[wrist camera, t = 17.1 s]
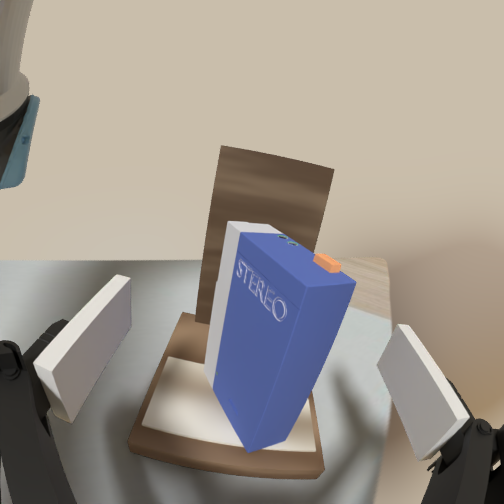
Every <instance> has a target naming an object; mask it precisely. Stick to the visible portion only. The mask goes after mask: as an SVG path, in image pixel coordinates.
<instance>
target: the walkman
mask: <svg viewBox="0 0 504 504" xmlns="http://www.w3.org/2000/svg"><path fill="white" fill-rule="evenodd" d="M340 268H341V264H340V263H338V262H337V261H335V260H334V259H332V258H331V257H329V256H327V255H326V254H314V253H312V252H311V251H309V250H308V249H306V248H305V247H303V246H302V245H300V244H299V243H297V242H296V241H294V240H292V239H291V238H289V237H288V236H286V235H285V234H283V233H281V232H280V231H278V230H277V229H275V228H273V227H272V226H270V225H269V224H258V223H248V222H239V221H228V222H227V228H226V234H225V240H224V245H223V251H222V257H221V263H220V269H219V276H218V281H216V288H215V294H214V301H213V307H212V314H211V321H210V328H209V335H208V342H207V349H206V356H205V364H204V373H205V375H206V377H207V379H208V381H209V383H210V385H211V387H212V389H213V391H214V393H215V395H216V397H217V399H218V401H219V403H220V405H221V406H222V408H223V410H224V412H225V414H226V416H227V418H228V419H229V421H230V423H231V425H232V427H233V429H234V430H235V432H236V434H237V436H238V437H239V439H240V441H241V443H242V444H243V446H244V448H245V450H246V451H247V453H250V452H253V451H257V450H260V449H263V448H266V447H269V446H272V445H275V444H278V443H281V442H283V441H286V439H287V437H288V435H289V434H290V432H291V430H292V428H293V426H294V424H295V422H296V421H297V419H298V417H299V415H300V413H301V411H302V409H303V407H304V405H305V403H306V401H307V399H308V397H309V395H310V393H311V391H312V389H313V387H314V385H315V383H316V380H317V378H318V376H319V374H320V372H321V370H322V367H323V365H324V363H325V361H326V358H327V356H328V354H329V352H330V349H331V347H332V345H333V342H334V340H335V337H336V335H337V333H338V330H339V328H340V325H341V323H342V320H343V318H344V315H345V312H346V310H347V307H348V304H349V302H350V299H351V296H352V294H353V291H354V288H355V285H356V281H354V280H353V279H351V278H350V277H348V276H347V275H346V274H344V273H343V272H341V271H340Z"/></svg>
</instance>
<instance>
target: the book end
mask: <svg viewBox="0 0 504 504" xmlns="http://www.w3.org/2000/svg"><path fill="white" fill-rule="evenodd" d="M333 173H334V169H331V168H327V167H323V166H320V165H316V164H312V163H307V162H303V161H299V160H294V159H290V158H285V157H281V156H276V155H271V154H266V153H261V152H256V151H251V150H245V149H240V148H234V147H228V146H221V149H220V154H219V160H218V166H217V171H216V177H215V183H214V189H213V194H212V200H211V206H210V213H209V219H208V226H207V232H206V239H205V246H204V253H203V260H202V267H201V274H200V282H199V290H198V298H197V307H196V315H194V314H189V313H185V312H182V314H181V316H180V318H179V321H178V323H177V325H176V327H175V330H174V332H173V334H172V336H171V338H170V341H169V343H168V345H167V347H166V350H165V352H164V354H163V357H162V359H161V361H160V363H159V366H158V368H157V370H156V373H155V375H154V377H153V380H152V382H151V384H150V387H149V389H148V392H147V394H146V396H145V399H144V401H143V403H142V406H141V408H140V411H139V413H138V416H137V418H136V421H135V423H134V426H133V428H132V431H131V433H130V436H129V438H128V445H129V449H130V452H133V453H136V454H139V455H142V456H146V457H149V458H153V459H156V460H160V461H164V462H168V463H172V464H176V465H180V466H185V467H189V468H194V469H199V470H205V471H211V472H217V473H223V474H230V475H238V476H248V477H259V478H273V479H317V478H318V477H319V476H320V475H321V474H322V473H323V471H324V470H325V468H324V461H323V454H322V448H321V442H320V435H319V429H318V423H317V417H316V411H315V405H314V399H313V394H312V391H311V393H310V395H309V397H308V399H307V401H306V403H305V405H304V407H303V409H302V411H301V413H300V415H299V417H298V419H297V421H296V422H295V424H294V426H293V428H292V430H291V432H290V434H289V435H288V437H287V439H286V441H283V442H281V443H278V444H275V445H272V446H269V447H266V448H263V449H260V450H257V451H253V452H250V453H247V451H246V450H245V448H244V446H243V444H242V443H241V441H240V439H239V437H238V436H237V434H236V432H235V430H234V429H233V427H232V425H231V423H230V421H229V419H228V418H227V416H226V414H225V412H224V410H223V408H222V406H221V405H220V403H219V401H218V399H217V397H216V395H215V393H214V391H213V389H212V387H211V385H210V383H209V381H208V379H207V377H206V375H205V373H204V364H205V356H206V349H207V342H208V335H209V328H210V321H211V314H212V307H213V301H214V294H215V288H216V281H218V276H219V269H220V263H221V257H222V251H223V245H224V240H225V234H226V228H227V222H228V221H239V222H248V223H258V224H269V225H270V226H272V227H273V228H275V229H277V230H278V231H280V232H281V233H283V234H285V235H286V236H288V237H289V238H291V239H292V240H294V241H296V242H297V243H299V244H300V245H302V246H303V247H305V248H306V249H308V250H309V251H311V252H312V253H314V249H315V245H316V242H317V238H318V234H319V231H320V227H321V223H322V219H323V215H324V211H325V207H326V203H327V199H328V195H329V191H330V186H331V182H332V178H333Z"/></svg>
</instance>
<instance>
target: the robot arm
mask: <svg viewBox="0 0 504 504" xmlns="http://www.w3.org/2000/svg"><path fill="white" fill-rule="evenodd" d="M32 3H33V0H0V189H4V188H11V187H16V186H18V185H19V184H20V183H22V181H23V179H24V177H25V173H26V167H27V161H28V155H29V150H30V144H31V139H32V134H33V129H34V125H35V120H36V116H37V112H38V108H39V102H40V99H39V97H37V96H34V95H30V96H28V95H29V82H28V79H27V78H26V76H25V75H23V74H22V73H21V72H19V68H20V61H21V54H22V48H23V42H24V37H25V32H26V28H27V23H28V18H29V15H30V11H31V7H32ZM130 328H131V278H129V277H125V276H121V275H117V274H116V275H115V276H114V277H113V278H112V279H111V280H110V281H109V282H108V283H107V284H106V285H105V286H104V287H103V288H102V289H101V290H100V291H99V292H98V293H97V294H96V295H95V296H94V297H93V298H92V299H91V300H90V301H89V302H88V303H87V304H86V305H85V306H84V307H83V308H82V309H81V310H80V311H79V312H78V313H77V314H76V316H75V317H74V318H73V319H72V320H71V321H70V322H69V321H66V320H64V319H62V320H60V321H58V322H56V323H54V324H52V325H51V326H50V327H49V328H48V329H47V330H46V331H45V333H43V334H42V335H41V336H40V337H39V339H37V340H36V341H35V343H34V344H33V345H32V346H31V347H30V348H29V349H28V350H27V351H26V352H25V353H24V354H23V356H22V354H21V351H20V348H19V346H18V345H17V344H16V343H14V342H12V341H6V340H3V341H0V466H1V456H2V462H3V467H4V471H5V476H6V480H7V484H8V488H9V492H10V496H11V499H12V502H13V504H77V503H76V500H75V498H74V496H73V493H72V491H71V488H70V486H69V483H68V481H67V478H66V475H65V473H64V470H63V467H62V464H61V461H60V458H59V455H58V452H57V448H56V445H55V442H54V438H53V434H52V431H51V427H50V423H49V419H48V416H47V414H46V413H47V411H48V410H49V408H50V407H51V409H52V411H53V413H54V415H55V416H56V417H58V418H60V419H62V420H64V421H66V422H69V423H71V424H72V423H73V421H74V419H75V418H76V416H77V414H78V412H79V411H80V409H81V407H82V405H83V404H84V402H85V400H86V398H87V397H88V395H89V393H90V392H91V390H92V388H93V387H94V385H95V383H96V382H97V380H98V378H99V377H100V375H101V373H102V372H103V370H104V368H105V367H106V365H107V364H108V362H109V360H110V359H111V357H112V356H113V354H114V352H115V351H116V349H117V348H118V346H119V345H120V343H121V341H122V340H123V338H124V337H125V335H126V334H127V332H128V331H129V329H130ZM377 367H378V369H379V371H380V373H381V375H382V377H383V380H384V382H385V384H386V386H387V388H388V391H389V393H390V395H391V397H392V400H393V402H394V404H395V406H396V409H397V411H398V413H399V416H400V418H401V421H402V423H403V425H404V428H405V430H406V433H407V435H408V437H409V440H410V443H411V445H412V447H413V450H414V453H415V455H416V458H417V461H423V460H427V459H431V458H432V457H433V456H434V455H435V454H436V453H437V452H438V451H439V450H440V452H441V456H440V457H439V458H438V459H437V460H436V461H435V462H434V463H433V464H431V465H430V466H429V467H428V469H427V470H428V471H429V470H430V469H431V468H432V467H434V466H435V468H434V470H433V471H432V473H433V474H432V477H431V479H430V482H429V485H428V487H427V490H426V493H425V495H424V497H423V500H422V503H421V504H504V425H503V426H502V427H501V428H500V429H492V427H491V425H490V424H489V423H488V422H487V421H485V420H483V419H476V420H475V418H474V417H473V415H472V413H471V412H470V410H469V409H468V407H467V405H466V404H465V402H464V400H463V399H461V396H460V394H459V393H457V389H456V388H455V386H454V385H453V383H451V381H449V380H448V379H447V378H446V377H445V376H444V375H443V373H442V372H441V370H440V369H439V367H438V366H437V364H436V363H435V361H434V360H433V358H432V357H431V356H430V354H429V353H428V351H427V350H426V348H425V347H424V346H423V344H422V343H421V341H420V340H419V339H418V337H417V336H416V334H415V333H414V332H413V330H412V329H411V328H410V326H409V325H403V324H397V326H396V328H395V330H394V332H393V334H392V336H391V338H390V340H389V342H388V344H387V346H386V348H385V350H384V352H383V354H382V356H381V358H380V360H379V362H378V364H377ZM499 460H500V462H501V465H500V466H499V467H498V468H496V469H495V470H494V471H493V466H494V465H495V464H496V463H497V462H498V461H499ZM0 504H1V490H0Z"/></svg>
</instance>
